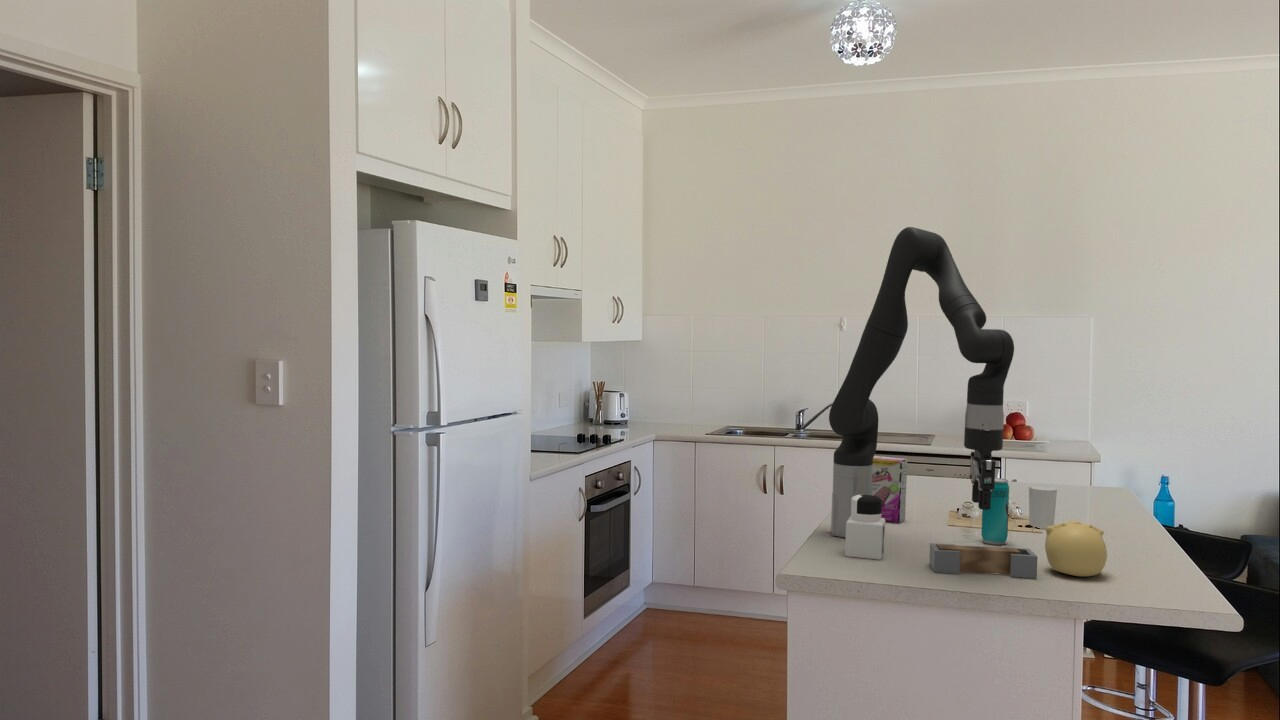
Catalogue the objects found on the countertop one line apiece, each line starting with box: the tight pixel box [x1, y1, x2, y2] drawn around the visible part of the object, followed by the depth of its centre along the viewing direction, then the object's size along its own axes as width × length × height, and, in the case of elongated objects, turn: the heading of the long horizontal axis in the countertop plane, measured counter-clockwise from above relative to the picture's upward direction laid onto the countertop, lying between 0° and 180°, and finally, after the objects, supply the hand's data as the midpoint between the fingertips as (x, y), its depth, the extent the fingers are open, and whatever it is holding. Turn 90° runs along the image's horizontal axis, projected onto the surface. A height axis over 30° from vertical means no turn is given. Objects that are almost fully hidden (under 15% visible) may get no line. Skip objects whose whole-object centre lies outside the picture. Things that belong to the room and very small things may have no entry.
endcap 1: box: [929, 542, 960, 575], centre depth 200 cm, size 5×7×4 cm
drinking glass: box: [1028, 485, 1058, 530], centre depth 246 cm, size 7×7×10 cm
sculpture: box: [1044, 520, 1108, 577], centre depth 199 cm, size 11×12×11 cm
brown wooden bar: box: [936, 544, 1020, 575], centre depth 199 cm, size 16×4×5 cm, turn 84°
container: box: [844, 495, 886, 561], centre depth 211 cm, size 8×8×13 cm
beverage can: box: [981, 477, 1010, 546], centre depth 226 cm, size 6×6×15 cm
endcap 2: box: [1003, 547, 1038, 579], centre depth 198 cm, size 5×7×4 cm
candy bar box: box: [872, 455, 908, 524], centre depth 251 cm, size 11×5×16 cm, turn 58°
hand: (980, 505), depth 199 cm, fingers open, 7 cm apart
